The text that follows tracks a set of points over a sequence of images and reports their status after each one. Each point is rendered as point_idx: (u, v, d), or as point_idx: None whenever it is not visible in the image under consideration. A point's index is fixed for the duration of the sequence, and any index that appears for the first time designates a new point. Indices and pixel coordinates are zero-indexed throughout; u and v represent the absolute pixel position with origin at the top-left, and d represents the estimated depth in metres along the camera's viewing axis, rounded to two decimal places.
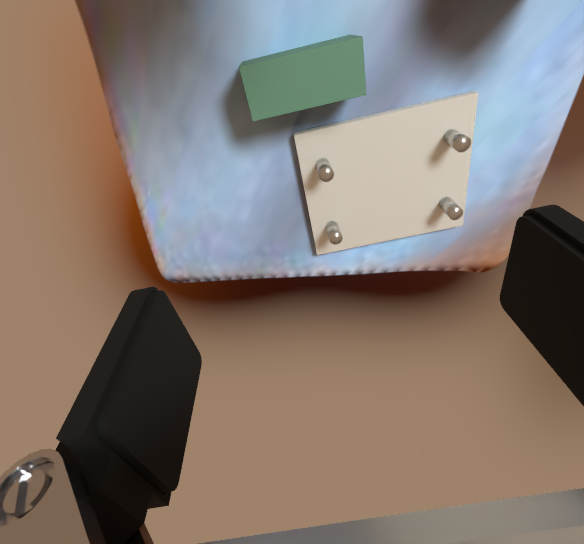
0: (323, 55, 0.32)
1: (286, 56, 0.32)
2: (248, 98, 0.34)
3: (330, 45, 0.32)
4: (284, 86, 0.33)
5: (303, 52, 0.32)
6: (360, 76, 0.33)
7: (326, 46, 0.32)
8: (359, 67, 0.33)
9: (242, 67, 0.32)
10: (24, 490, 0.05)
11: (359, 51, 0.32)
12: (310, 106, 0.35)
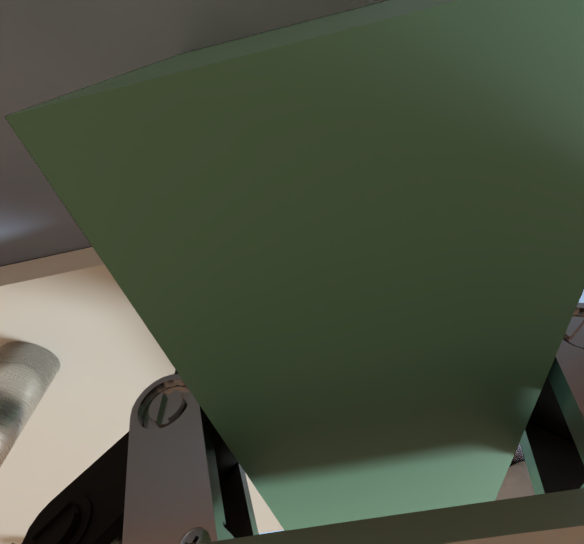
0: (469, 481, 0.07)
1: (540, 375, 0.05)
2: (299, 68, 0.02)
3: (494, 489, 0.07)
4: (373, 376, 0.05)
5: (517, 432, 0.06)
6: None
7: (498, 483, 0.07)
8: None
9: None
10: (162, 406, 0.06)
11: None
12: (252, 470, 0.06)
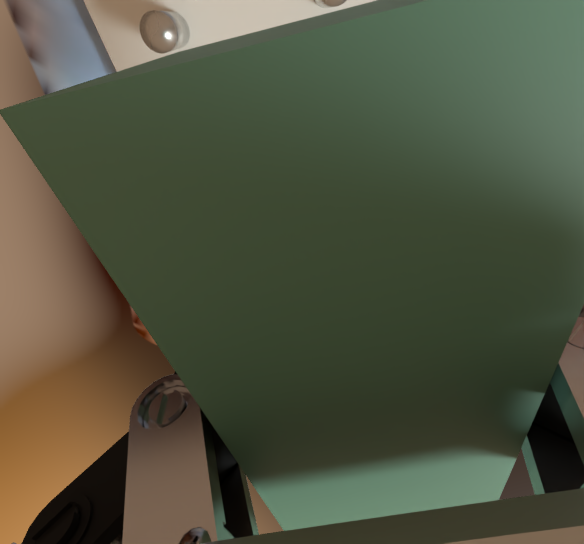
0: (472, 483, 0.07)
1: (545, 376, 0.05)
2: (301, 60, 0.02)
3: (497, 490, 0.07)
4: (376, 377, 0.05)
5: (521, 434, 0.06)
6: None
7: (501, 485, 0.07)
8: None
9: None
10: (162, 406, 0.06)
11: None
12: (252, 472, 0.06)
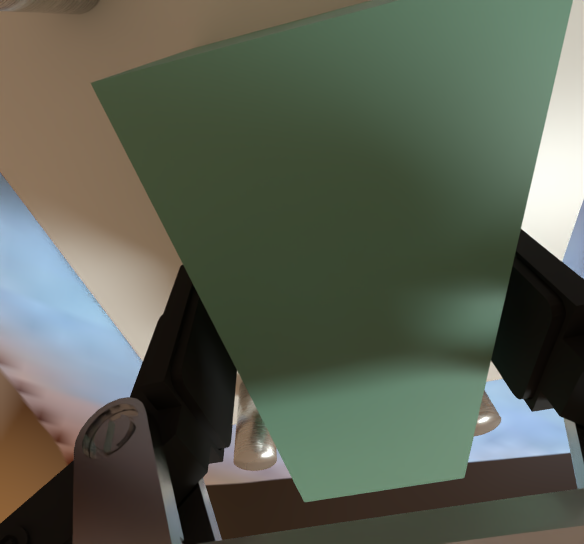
0: (448, 417, 0.08)
1: (497, 307, 0.06)
2: (295, 47, 0.03)
3: (471, 427, 0.08)
4: (358, 305, 0.06)
5: (484, 365, 0.07)
6: (358, 488, 0.10)
7: (474, 420, 0.08)
8: (383, 482, 0.10)
9: None
10: (110, 432, 0.06)
11: (427, 477, 0.10)
12: (259, 401, 0.07)
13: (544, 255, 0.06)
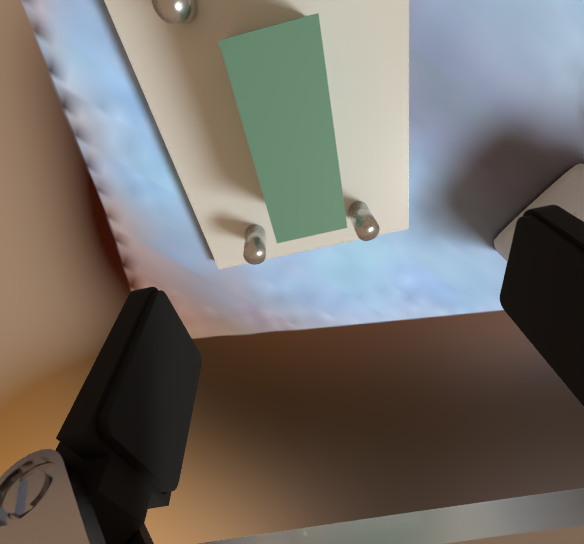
0: (328, 178, 0.21)
1: (330, 116, 0.19)
2: (262, 32, 0.16)
3: (340, 186, 0.21)
4: (286, 113, 0.19)
5: (334, 146, 0.20)
6: (300, 232, 0.23)
7: (339, 181, 0.21)
8: (311, 229, 0.23)
9: (317, 22, 0.16)
10: (24, 490, 0.05)
11: (330, 226, 0.23)
12: (256, 162, 0.20)
13: None
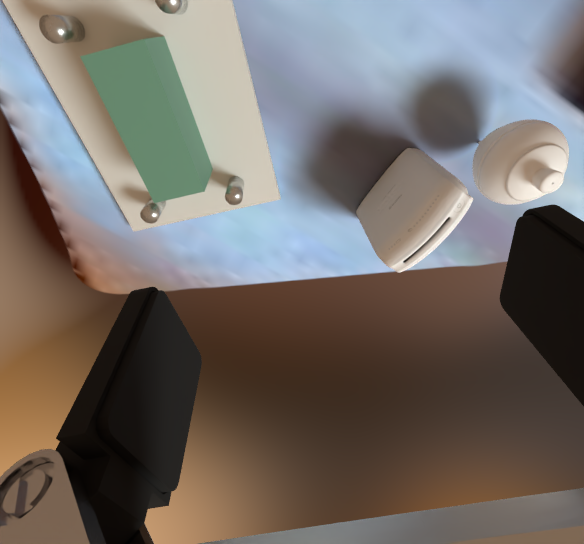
0: (180, 153, 0.29)
1: (170, 108, 0.27)
2: (109, 51, 0.25)
3: (191, 159, 0.30)
4: (138, 106, 0.27)
5: (178, 129, 0.28)
6: (169, 194, 0.31)
7: (189, 155, 0.29)
8: (177, 192, 0.31)
9: (144, 44, 0.24)
10: (24, 490, 0.05)
11: (191, 190, 0.31)
12: (124, 141, 0.28)
13: None
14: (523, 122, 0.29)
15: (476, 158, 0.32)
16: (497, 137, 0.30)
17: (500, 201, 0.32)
